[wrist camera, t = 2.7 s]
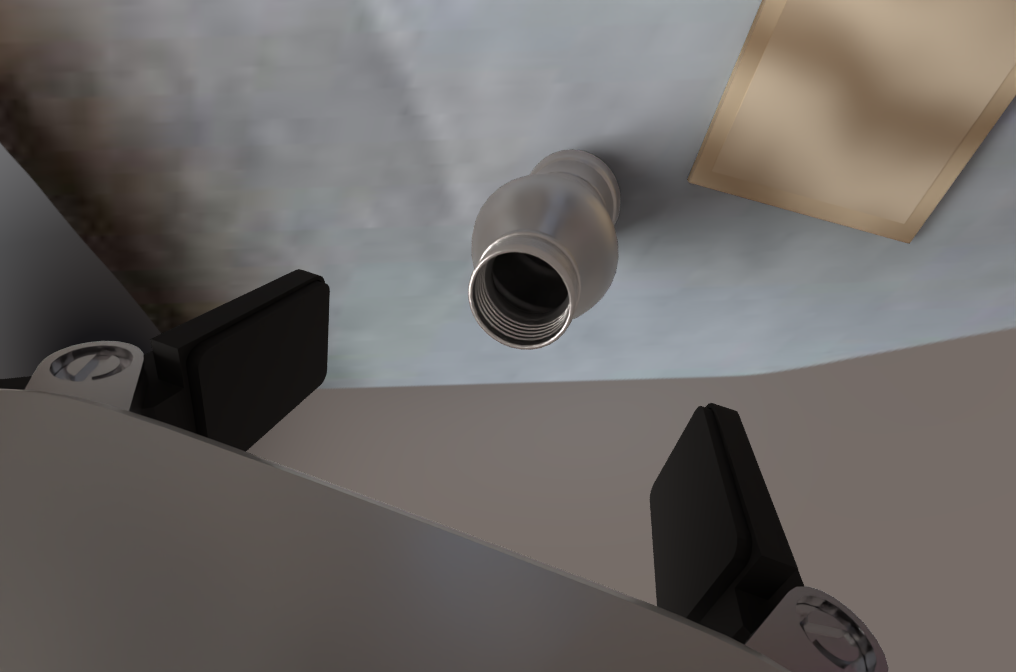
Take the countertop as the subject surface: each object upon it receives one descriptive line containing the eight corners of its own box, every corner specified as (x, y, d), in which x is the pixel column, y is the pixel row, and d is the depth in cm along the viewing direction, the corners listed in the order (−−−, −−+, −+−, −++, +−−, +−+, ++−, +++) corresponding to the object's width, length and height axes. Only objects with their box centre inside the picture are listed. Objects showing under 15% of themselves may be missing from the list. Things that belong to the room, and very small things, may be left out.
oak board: (801, -94, 23) (810, -105, 22) (1087, -32, 22) (1112, -39, 21) (687, 179, 30) (689, 182, 29) (898, 238, 29) (909, 244, 28)
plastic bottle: (561, 257, 34) (500, 412, 17) (512, 180, 32) (388, 265, 15) (637, 211, 31) (660, 341, 14) (589, 124, 30) (546, 151, 12)
